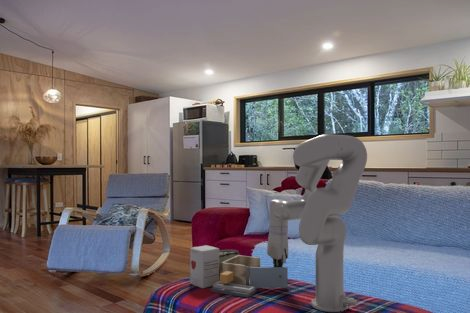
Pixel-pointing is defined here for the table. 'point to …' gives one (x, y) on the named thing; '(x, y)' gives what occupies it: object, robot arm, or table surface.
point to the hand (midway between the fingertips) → (277, 274)
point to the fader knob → (226, 277)
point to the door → (267, 277)
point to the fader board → (234, 289)
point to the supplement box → (204, 266)
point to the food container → (226, 255)
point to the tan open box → (239, 267)
